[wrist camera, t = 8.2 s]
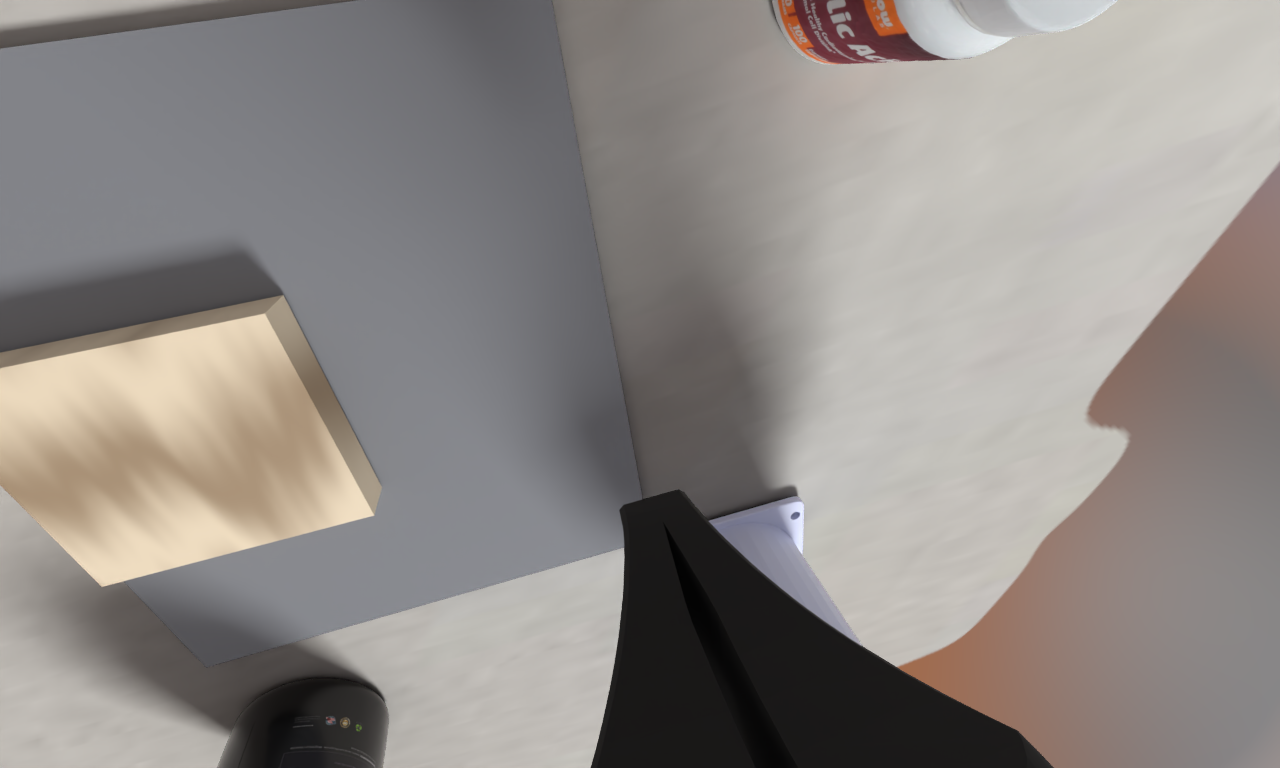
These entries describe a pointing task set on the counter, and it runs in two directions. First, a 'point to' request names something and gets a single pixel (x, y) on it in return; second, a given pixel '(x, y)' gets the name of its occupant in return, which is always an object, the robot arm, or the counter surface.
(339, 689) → the supplement bottle
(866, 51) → the pill bottle
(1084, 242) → the counter surface
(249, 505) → the tile
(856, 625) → the counter surface
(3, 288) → the mat
